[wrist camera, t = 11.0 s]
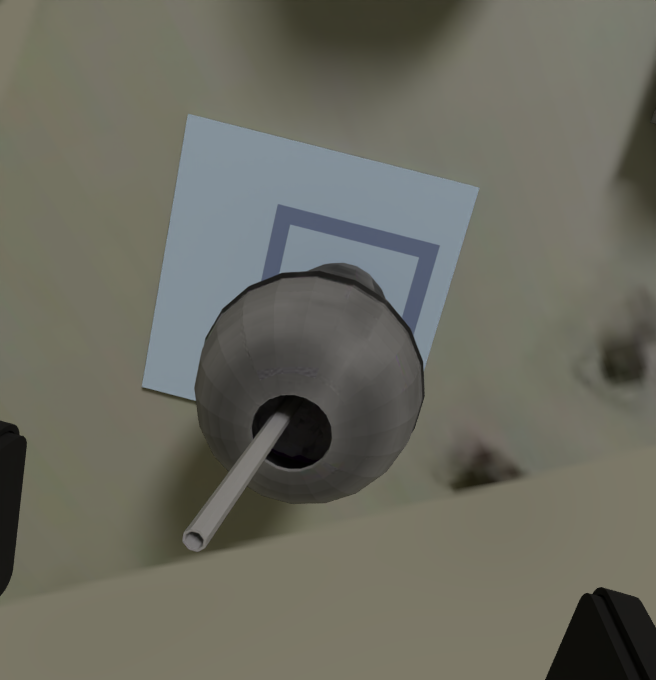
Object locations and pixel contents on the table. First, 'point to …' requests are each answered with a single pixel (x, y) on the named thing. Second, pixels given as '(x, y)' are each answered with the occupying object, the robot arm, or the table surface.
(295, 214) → the paper
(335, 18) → the table surface
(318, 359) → the beverage cup
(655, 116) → the button housing
